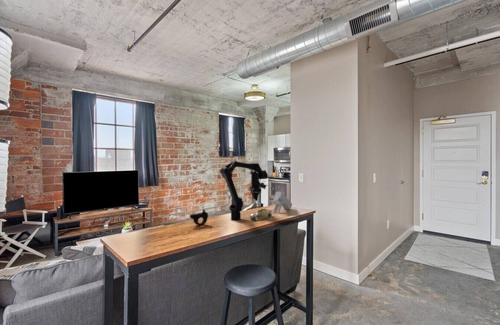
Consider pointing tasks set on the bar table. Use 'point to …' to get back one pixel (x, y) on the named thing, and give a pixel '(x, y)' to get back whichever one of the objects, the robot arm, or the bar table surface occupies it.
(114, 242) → the bar table surface
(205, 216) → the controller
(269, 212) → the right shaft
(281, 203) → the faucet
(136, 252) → the bar table surface
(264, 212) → the olive green rounded lump
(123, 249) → the bar table surface
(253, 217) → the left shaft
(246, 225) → the bar table surface
